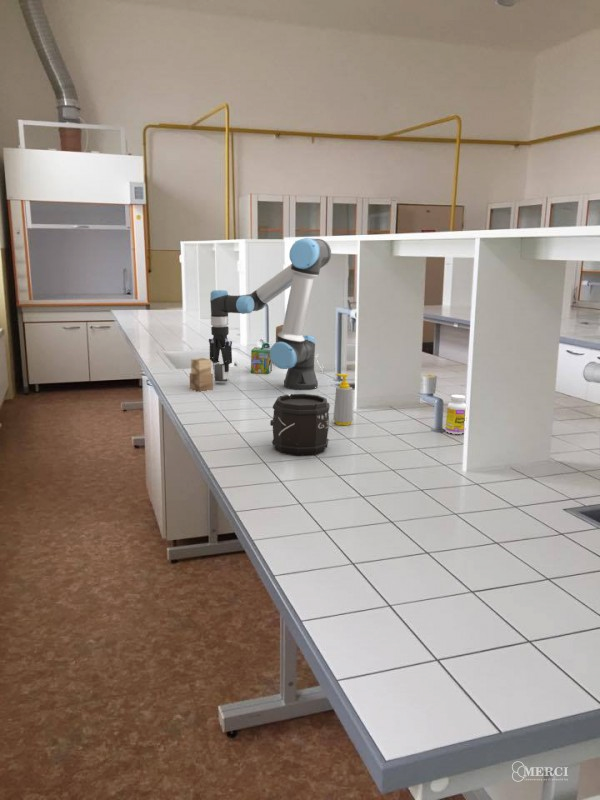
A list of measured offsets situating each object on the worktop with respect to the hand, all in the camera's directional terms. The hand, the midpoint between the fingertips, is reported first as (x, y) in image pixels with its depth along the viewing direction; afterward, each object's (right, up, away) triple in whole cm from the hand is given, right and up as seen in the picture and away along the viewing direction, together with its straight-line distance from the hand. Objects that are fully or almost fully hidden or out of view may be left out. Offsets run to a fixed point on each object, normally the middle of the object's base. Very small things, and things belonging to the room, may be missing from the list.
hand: (221, 378), depth 301 cm
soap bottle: (+50, -18, -61) cm, 81 cm away
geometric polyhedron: (+41, +3, +32) cm, 52 cm away
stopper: (0, -1, 0) cm, 1 cm away
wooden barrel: (+35, -25, -91) cm, 101 cm away
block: (+28, +9, +54) cm, 62 cm away
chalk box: (+16, +4, +30) cm, 34 cm away
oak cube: (-7, +1, -14) cm, 16 cm away
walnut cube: (-7, -5, -12) cm, 15 cm away
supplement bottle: (+88, -21, -69) cm, 114 cm away
